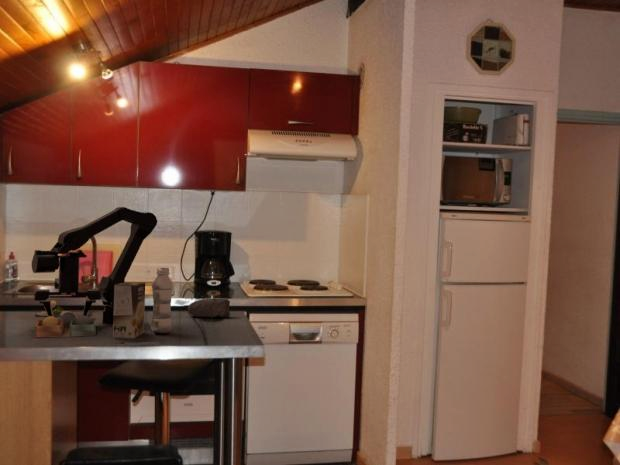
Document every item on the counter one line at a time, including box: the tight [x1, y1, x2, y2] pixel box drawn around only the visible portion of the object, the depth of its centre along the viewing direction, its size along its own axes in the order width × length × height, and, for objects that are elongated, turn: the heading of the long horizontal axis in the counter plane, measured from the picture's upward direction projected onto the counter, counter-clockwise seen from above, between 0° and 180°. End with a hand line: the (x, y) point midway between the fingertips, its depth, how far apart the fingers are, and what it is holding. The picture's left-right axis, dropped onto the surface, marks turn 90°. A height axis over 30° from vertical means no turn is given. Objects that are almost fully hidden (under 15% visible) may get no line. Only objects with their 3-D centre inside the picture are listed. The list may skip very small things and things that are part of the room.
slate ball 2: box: [75, 315, 91, 325], centre depth 175 cm, size 4×4×4 cm
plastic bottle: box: [150, 267, 174, 335], centre depth 179 cm, size 6×7×20 cm
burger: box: [34, 300, 73, 318], centre depth 202 cm, size 12×12×8 cm
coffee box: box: [112, 281, 146, 339], centre depth 170 cm, size 9×6×16 cm
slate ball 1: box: [59, 311, 76, 326], centre depth 180 cm, size 4×4×4 cm
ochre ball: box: [42, 316, 58, 326], centre depth 172 cm, size 4×4×4 cm
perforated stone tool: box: [187, 298, 231, 319], centre depth 212 cm, size 15×5×7 cm, turn 92°
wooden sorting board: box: [34, 317, 97, 338], centre depth 174 cm, size 16×20×4 cm
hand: (67, 322), depth 180 cm, fingers open, 9 cm apart
